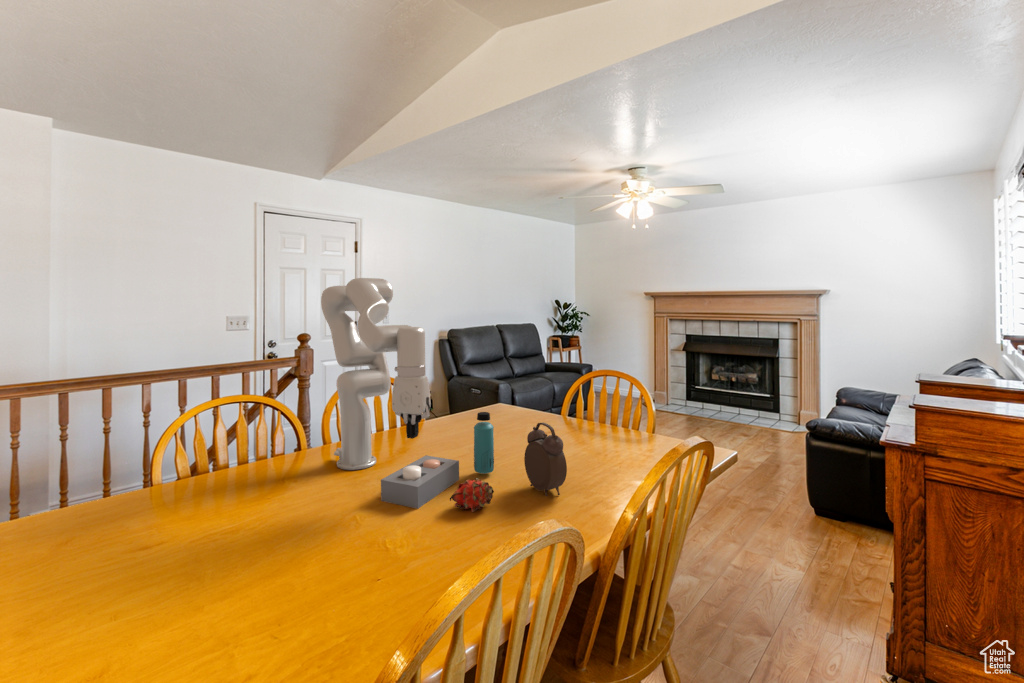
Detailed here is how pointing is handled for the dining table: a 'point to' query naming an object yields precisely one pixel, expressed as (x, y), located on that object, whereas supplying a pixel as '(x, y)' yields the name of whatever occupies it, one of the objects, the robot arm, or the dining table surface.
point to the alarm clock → (545, 460)
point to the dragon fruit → (472, 494)
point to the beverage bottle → (483, 444)
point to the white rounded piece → (412, 472)
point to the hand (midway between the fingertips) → (412, 437)
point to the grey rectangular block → (419, 483)
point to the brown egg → (431, 463)
